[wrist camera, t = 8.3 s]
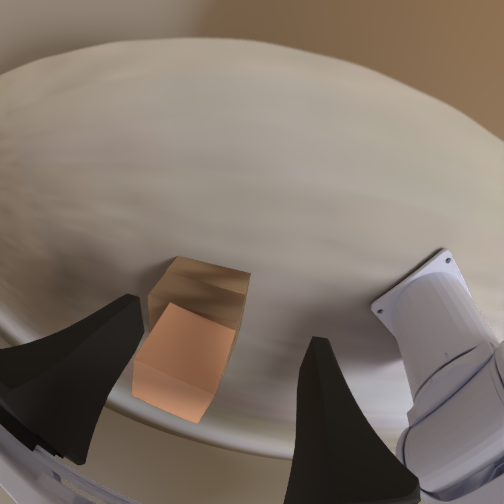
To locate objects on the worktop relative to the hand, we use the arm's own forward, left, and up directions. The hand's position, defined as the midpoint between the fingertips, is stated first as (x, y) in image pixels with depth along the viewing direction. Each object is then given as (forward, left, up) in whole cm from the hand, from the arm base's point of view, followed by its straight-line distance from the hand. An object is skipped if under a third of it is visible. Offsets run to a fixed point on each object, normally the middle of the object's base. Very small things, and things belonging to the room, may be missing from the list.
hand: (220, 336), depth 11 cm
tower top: (-1, +7, -8) cm, 11 cm away
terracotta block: (-1, +6, -5) cm, 8 cm away
